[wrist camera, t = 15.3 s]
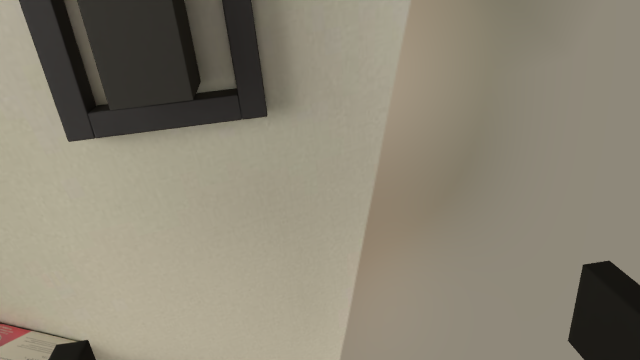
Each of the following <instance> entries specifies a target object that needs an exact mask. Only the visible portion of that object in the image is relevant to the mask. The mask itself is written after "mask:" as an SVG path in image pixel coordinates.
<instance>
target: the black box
mask: <svg viewBox="0 0 640 360" xmlns="http://www.w3.org/2000/svg"><path fill="white" fill-rule="evenodd" d="M77 2H78V5H79V8H80V12H81V15H82V19H83V22H84V25H85V29H86V32H87V35H88V39H89V42H90V45H91V49H92V52H93V55H94V59H95V62H96V65H97V69H98V72H99V75H100V79H101V82H102V85H103V89H104V92H105V95H106V99H107V102H108V105H109V109H110V110H117V109H125V108H133V107H141V106H149V105H157V104H165V103H173V102H181V101H189V100H193V99H194V97H195V95H196V92H197V90H198V87H199V85H200V82H201V81H200V76H199V71H198V66H197V61H196V56H195V51H194V46H193V41H192V37H191V32H190V27H189V22H188V17H187V12H186V7H185V2H184V0H77Z"/></svg>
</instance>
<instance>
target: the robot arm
mask: <svg viewBox="0 0 640 360" xmlns="http://www.w3.org/2000/svg"><path fill="white" fill-rule="evenodd" d="M568 341H569V342H570V344H571V345H572V346H573V347H574V348H575V349H576V351H577V352H578V353H579V354H580V355H581V356H582V358H583V359H584V360H640V285H639V284H638V283H636V282H635V281H634V280H633V279H631V278H630V277H629V276H628V275H626V274H625V273H624V272H623V271H621V270H620V269H619V268H618V267H616V266H615V265H614V264H613V263H611V262H610V261H604V262H597V263H591V264H585V265H583V268H582V273H581V278H580V283H579V288H578V293H577V298H576V303H575V308H574V313H573V318H572V323H571V328H570V334H569V338H568ZM48 360H96V359H95V356H94V354H93V351H92V349H91V346H90V344H89V341H88V340H84V341H78V342H71V343H65V344H58V345H56V346H55V348H54V350H53V352H52V354H51V355H50V357H49V359H48Z"/></svg>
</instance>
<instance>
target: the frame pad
mask: <svg viewBox="0 0 640 360" xmlns="http://www.w3.org/2000/svg"><path fill="white" fill-rule="evenodd" d="M19 2H20V5H21V8H22V10H23V13H24V16H25V19H26V22H27V25H28V28H29V31H30V33H31V36H32V39H33V42H34V45H35V48H36V51H37V53H38V56H39V59H40V62H41V65H42V68H43V71H44V73H45V76H46V79H47V82H48V85H49V88H50V91H51V93H52V96H53V99H54V102H55V105H56V108H57V111H58V113H59V116H60V119H61V122H62V125H63V128H64V131H65V133H66V136H67V139H68V141H69V142H71V141H79V140H86V139H94V138H102V137H110V136H118V135H126V134H133V133H141V132H149V131H157V130H165V129H172V128H180V127H188V126H196V125H204V124H212V123H219V122H227V121H235V120H241V119H251V118H259V117H266V116H267V108H266V101H265V94H264V87H263V80H262V73H261V66H260V59H259V52H258V45H257V38H256V31H255V24H254V17H253V10H252V3H251V0H222V3H223V9H224V14H225V20H226V26H227V32H228V38H229V44H230V50H231V56H232V62H233V68H234V74H235V80H236V86H237V89H230V90H221V91H213V92H205V93H197V94H196V95H195V97H194V99H193V100H189V101H181V102H173V103H165V104H157V105H149V106H141V107H133V108H125V109H117V110H110V109H109V105H108V104H106V105H98V106H96V105H95V101H94V98H93V95H92V92H91V89H90V85H89V82H88V79H87V76H86V72H85V69H84V66H83V63H82V60H81V56H80V53H79V50H78V47H77V43H76V40H75V37H74V34H73V31H72V27H71V24H70V21H69V18H68V14H67V11H66V8H65V5H64V2H63V0H19Z"/></svg>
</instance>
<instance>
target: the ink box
mask: <svg viewBox="0 0 640 360" xmlns="http://www.w3.org/2000/svg"><path fill="white" fill-rule="evenodd" d="M71 342H77V341H72V340H68V339H64V338H60V337H56V336H51V335H47V334H43V333H39V332H34V331H30V330H25V329H21V328H17V327H13V326H9V325H4V324H0V360H48V359H49V357H50V355H51V354H52V352H53V350H54V348H55V346H56V345H58V344H65V343H71Z"/></svg>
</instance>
